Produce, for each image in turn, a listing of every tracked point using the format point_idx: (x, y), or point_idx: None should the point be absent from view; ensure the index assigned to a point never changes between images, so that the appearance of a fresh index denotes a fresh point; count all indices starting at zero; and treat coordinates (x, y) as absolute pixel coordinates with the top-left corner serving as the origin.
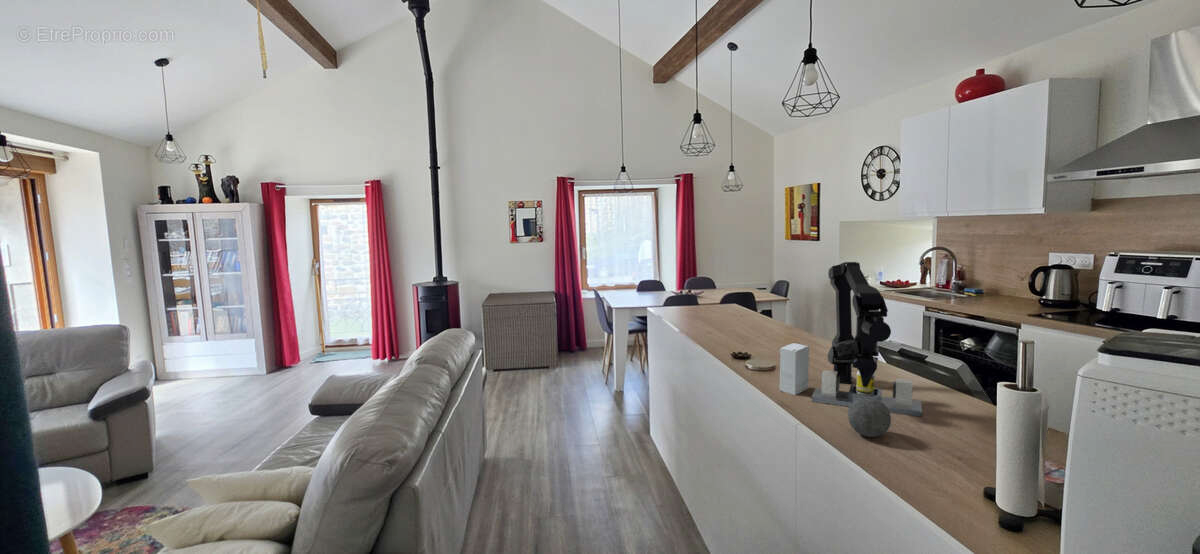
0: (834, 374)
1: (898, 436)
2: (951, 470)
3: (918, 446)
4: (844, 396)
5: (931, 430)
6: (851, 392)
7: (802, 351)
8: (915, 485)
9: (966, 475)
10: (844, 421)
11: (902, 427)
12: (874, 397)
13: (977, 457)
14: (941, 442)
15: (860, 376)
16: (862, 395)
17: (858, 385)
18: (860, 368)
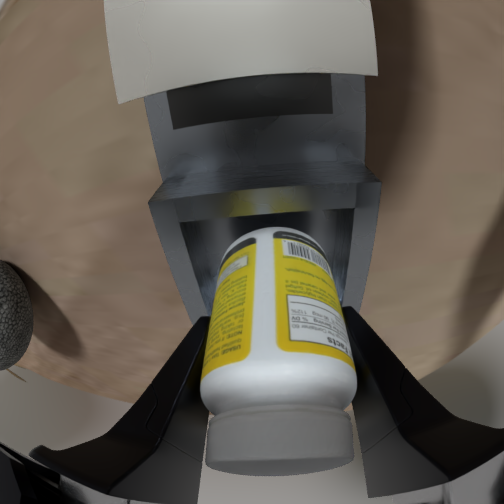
0: (144, 67)
1: (60, 326)
2: (36, 361)
3: (56, 346)
4: (255, 133)
5: (149, 373)
6: (183, 214)
7: None
8: None
9: (42, 369)
10: (22, 205)
11: (113, 336)
12: (192, 320)
13: (98, 391)
14: (105, 374)
15: (204, 370)
16: (175, 276)
17: (226, 284)
18: (5, 445)
